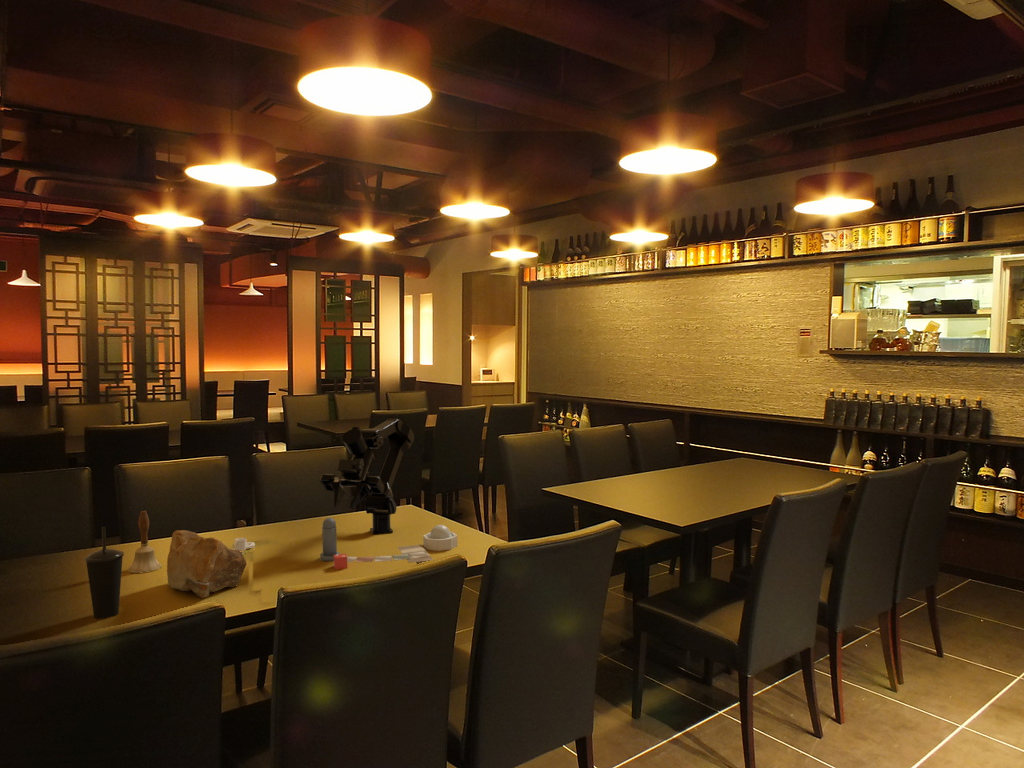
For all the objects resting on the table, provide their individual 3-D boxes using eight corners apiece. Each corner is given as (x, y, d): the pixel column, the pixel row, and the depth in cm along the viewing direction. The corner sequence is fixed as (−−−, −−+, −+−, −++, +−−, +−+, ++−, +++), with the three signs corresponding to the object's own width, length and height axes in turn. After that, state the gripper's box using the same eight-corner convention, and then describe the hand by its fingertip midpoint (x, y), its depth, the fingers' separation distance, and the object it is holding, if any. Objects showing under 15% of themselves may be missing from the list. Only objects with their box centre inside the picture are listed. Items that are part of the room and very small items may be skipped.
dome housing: (421, 543, 214) (421, 533, 214) (451, 540, 217) (451, 530, 217) (428, 551, 205) (428, 541, 205) (459, 548, 208) (459, 538, 208)
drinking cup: (113, 621, 153) (110, 531, 152) (78, 621, 153) (75, 531, 152) (132, 608, 161) (130, 522, 160) (100, 608, 161) (97, 522, 160)
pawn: (319, 556, 196) (318, 516, 196) (338, 554, 198) (337, 515, 198) (321, 562, 192) (320, 521, 191) (340, 560, 193) (339, 519, 193)
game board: (316, 558, 199) (316, 554, 199) (420, 547, 209) (420, 543, 209) (321, 575, 184) (321, 571, 184) (433, 563, 194) (433, 559, 194)
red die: (333, 566, 188) (333, 554, 188) (345, 565, 189) (345, 553, 189) (335, 569, 185) (334, 557, 185) (347, 568, 186) (347, 556, 186)
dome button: (426, 542, 213) (425, 523, 213) (448, 540, 216) (448, 521, 215) (431, 549, 206) (431, 529, 206) (455, 546, 209) (454, 527, 209)
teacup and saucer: (250, 546, 212) (250, 533, 212) (262, 552, 207) (262, 538, 207) (222, 552, 206) (221, 539, 206) (233, 558, 201) (232, 544, 200)
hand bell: (168, 565, 193) (167, 508, 192) (144, 575, 185) (142, 515, 184) (145, 562, 195) (143, 506, 195) (120, 571, 188) (118, 513, 187)
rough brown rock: (261, 595, 171) (264, 535, 172) (190, 606, 160) (194, 542, 161) (225, 576, 188) (228, 521, 189) (160, 585, 177) (163, 526, 178)
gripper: (322, 447, 209) (303, 491, 199) (379, 449, 204) (363, 494, 194) (335, 468, 217) (318, 512, 207) (391, 471, 212) (376, 515, 202)
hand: (343, 508), depth 202 cm, fingers open, 5 cm apart
